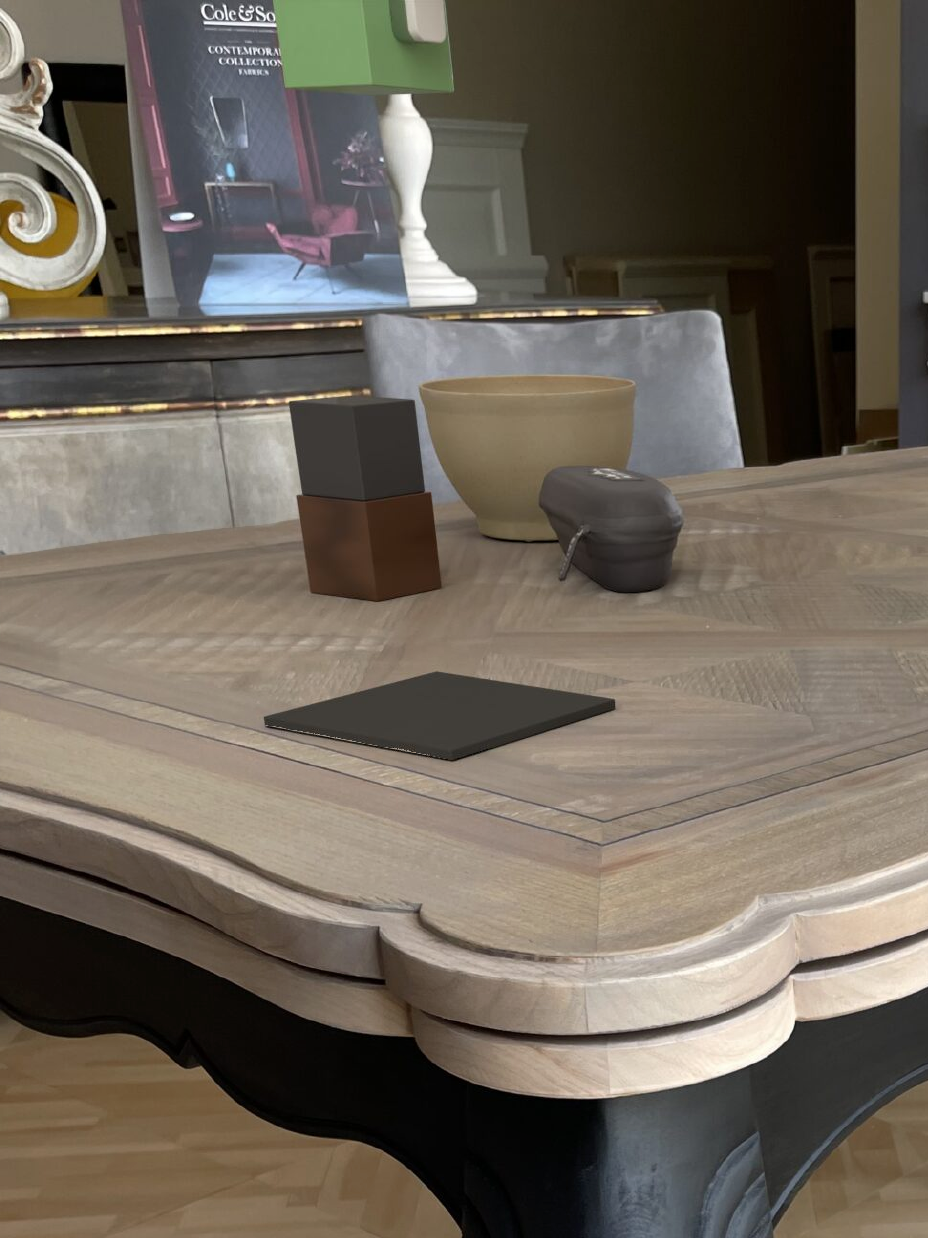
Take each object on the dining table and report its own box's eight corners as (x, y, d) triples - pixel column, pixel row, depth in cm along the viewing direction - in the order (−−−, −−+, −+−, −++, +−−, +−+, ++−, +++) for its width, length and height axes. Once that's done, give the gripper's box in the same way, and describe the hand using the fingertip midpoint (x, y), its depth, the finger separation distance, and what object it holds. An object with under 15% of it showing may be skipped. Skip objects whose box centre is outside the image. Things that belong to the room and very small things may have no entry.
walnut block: (310, 592, 118) (295, 495, 115) (376, 579, 123) (363, 485, 120) (377, 601, 116) (364, 502, 113) (442, 587, 120) (431, 491, 117)
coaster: (264, 726, 87) (262, 716, 87) (437, 680, 96) (436, 670, 96) (452, 761, 82) (451, 750, 82) (616, 708, 91) (615, 698, 91)
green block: (284, 88, 76) (264, -55, 74) (369, 95, 80) (353, -41, 78) (371, 85, 74) (353, -63, 72) (454, 92, 78) (440, -48, 76)
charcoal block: (301, 494, 115) (287, 401, 113) (363, 486, 120) (352, 395, 117) (364, 501, 113) (352, 405, 110) (425, 492, 117) (415, 399, 114)
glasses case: (733, 575, 120) (688, 460, 115) (593, 644, 118) (542, 530, 114) (655, 534, 134) (612, 429, 129) (529, 595, 132) (481, 491, 128)
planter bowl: (418, 525, 145) (401, 376, 139) (614, 515, 150) (604, 372, 145) (457, 555, 132) (439, 393, 127) (669, 543, 138) (660, 387, 132)
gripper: (65, -365, 72) (136, 48, 78) (455, -443, 63) (497, 29, 70) (191, -328, 76) (248, 59, 83) (570, -395, 68) (599, 43, 74)
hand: (364, 45), depth 76 cm, fingers closed on green block, 5 cm apart
